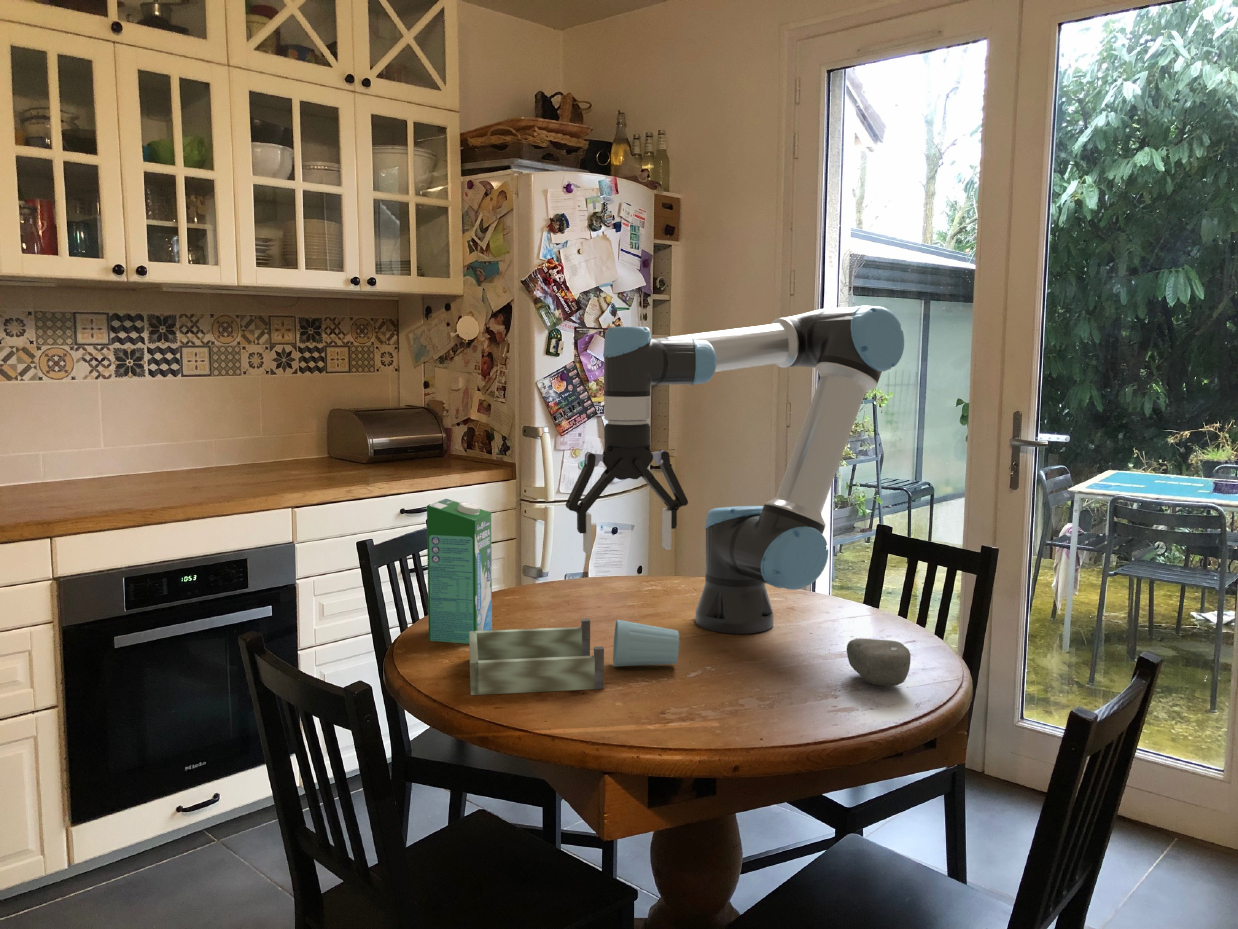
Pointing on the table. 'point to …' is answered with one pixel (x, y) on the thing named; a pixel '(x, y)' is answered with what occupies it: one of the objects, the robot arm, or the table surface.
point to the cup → (644, 644)
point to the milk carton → (458, 570)
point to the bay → (534, 660)
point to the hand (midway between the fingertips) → (627, 550)
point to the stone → (879, 660)
